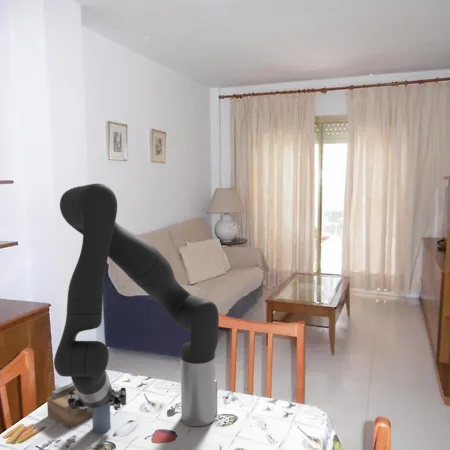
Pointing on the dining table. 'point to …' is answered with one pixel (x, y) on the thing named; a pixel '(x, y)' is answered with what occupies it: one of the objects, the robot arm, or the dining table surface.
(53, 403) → the display plinth
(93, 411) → the ball-topped blue cylinder
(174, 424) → the dining table surface
